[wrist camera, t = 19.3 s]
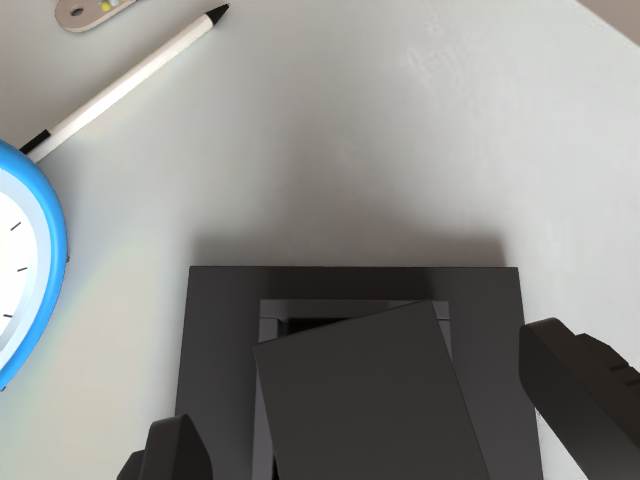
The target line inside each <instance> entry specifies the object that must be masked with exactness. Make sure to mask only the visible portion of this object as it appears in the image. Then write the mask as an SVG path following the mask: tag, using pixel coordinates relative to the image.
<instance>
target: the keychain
mask: <svg viewBox="0 0 640 480" xmlns="http://www.w3.org/2000/svg"><path fill="white" fill-rule="evenodd" d="M135 1H137V0H60V1H59V3H58V4H57V6H56V9H55V17H56V19H57V22H58V23H59V24H60V25H61V26H62V27H63V28H64V29H65V30H68V31H70V32H83V31H87V30H89V29H91V28H93V27H95V26H97V25H98V24H100V23H101V22H103V21H105V20H106V19H108V18H109V17H111V16H113V15H114V14H116V13H118V12H119V11H121V10H122V9H124V8H126V7H127V6H129V5H130V4H132V3H134V2H135ZM80 8H81V9H84V10H83V12H82V14H80V15H79V16H72V13H73V12H74V11H75V10H76V9H80Z"/></svg>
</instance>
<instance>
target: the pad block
mask: <svg viewBox="0 0 640 480" xmlns="http://www.w3.org/2000/svg"><path fill="white" fill-rule="evenodd" d="M253 351H254V356H255V361H256V366H257V371H258V376H259V381H260V386H261V390H262V395H263V400H264V405H265V410H266V415H267V420H268V425H269V430H270V435H271V440H272V445H273V449H274V454H275V459H276V464H277V469H278V474H279V479H280V480H491V479H490V476H489V473H488V470H487V467H486V464H485V460H484V457H483V454H482V451H481V448H480V445H479V442H478V439H477V436H476V433H475V430H474V427H473V424H472V421H471V418H470V415H469V412H468V409H467V406H466V403H465V400H464V397H463V394H462V391H461V388H460V385H459V382H458V379H457V376H456V373H455V370H454V367H453V364H452V361H451V358H450V355H449V352H448V349H447V346H446V343H445V340H444V337H443V334H442V331H441V327H440V324H439V321H438V318H437V315H436V312H435V309H434V306H433V303H432V300H431V299H429V298H427V299H424V300H420V301H416V302H412V303H408V304H404V305H401V306H397V307H393V308H389V309H385V310H382V311H378V312H374V313H370V314H366V315H362V316H359V317H355V318H351V319H347V320H343V321H339V322H336V323H332V324H328V325H324V326H320V327H316V328H313V329H309V330H305V331H301V332H297V333H294V334H290V335H286V336H282V337H278V338H274V339H271V340H267V341H263V342H259V343H255V344H254V345H253Z"/></svg>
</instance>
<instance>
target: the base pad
mask: <svg viewBox="0 0 640 480" xmlns="http://www.w3.org/2000/svg"><path fill="white" fill-rule="evenodd" d="M427 298H429V299H431V300H432V303H433V306H434V309H435V312H436V315H437V318H438V321H439V324H440V327H441V331H442V334H443V337H444V340H445V343H446V346H447V349H448V352H449V355H450V358H451V361H452V364H453V367H454V370H455V373H456V376H457V379H458V382H459V385H460V388H461V391H462V394H463V397H464V400H465V403H466V406H467V409H468V412H469V415H470V418H471V421H472V424H473V427H474V430H475V433H476V436H477V439H478V442H479V445H480V448H481V451H482V454H483V457H484V460H485V464H486V467H487V470H488V473H489V476H490V479H491V480H543V472H542V464H541V455H540V447H539V439H538V430H537V422H536V414H535V406H534V405H533V403H532V402H531V401H530V399H529V398H528V396H527V395H526V393H525V391H524V389H523V387H522V384H521V381H520V377H519V330H520V327H521V326H522V325H525V322H524V314H523V305H522V297H521V289H520V280H519V272H518V268H517V267H324V266H190V268H189V278H188V288H187V298H186V308H185V318H184V328H183V338H182V348H181V358H180V368H179V378H178V388H177V398H176V408H175V416H178V415H182V414H188V415H189V416H190V418H191V420H192V422H193V424H194V426H195V428H196V430H197V432H198V434H199V436H200V438H201V440H202V442H203V444H204V446H205V448H206V450H207V452H208V454H209V456H210V460H211V464H212V471H213V480H280V479H279V474H278V469H277V464H276V459H275V454H274V449H273V445H272V440H271V435H270V430H269V425H268V420H267V415H266V410H265V405H264V400H263V395H262V390H261V386H260V381H259V376H258V371H257V366H256V361H255V356H254V351H253V345H254V344H255V343H259V342H263V341H267V340H271V339H274V338H278V337H282V336H286V335H290V334H294V333H297V332H301V331H305V330H309V329H313V328H316V327H320V326H324V325H328V324H332V323H336V322H339V321H343V320H347V319H351V318H355V317H359V316H362V315H366V314H370V313H374V312H378V311H382V310H385V309H389V308H393V307H397V306H401V305H404V304H408V303H412V302H416V301H420V300H424V299H427Z"/></svg>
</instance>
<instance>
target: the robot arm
mask: <svg viewBox="0 0 640 480" xmlns="http://www.w3.org/2000/svg"><path fill="white" fill-rule="evenodd" d="M519 377H520V381H521V384H522V387H523V389H524V391H525V393H526V395H527V396H528V398H529V399H530V401H531V402H532V403H533V405H534V406H535V407H536V409H537V410H538V411H539V413H540V414H541V415H542V417H543V418H544V420H545V421H546V422H547V424H548V425H549V426H550V428H551V429H552V430H553V432H554V433H555V434H556V436H557V437H558V438H559V440H560V441H561V443H562V444H563V445H564V447H565V448H566V449H567V451H568V452H569V453H570V455H571V456H572V457H573V459H574V460H575V462H576V463H577V464H578V466H579V467H580V468H581V470H582V471H583V472H584V474H585V475H586V476H587V478H588V479H589V480H640V373H639V372H638V371H637V370H635V369H634V368H633V367H630V366H629V364H628V362H627V361H626V360H625V359H623V358H622V357H621V356H620V355H619V354H618V353H617V352H616V351H615V350H614V349H612V348H611V347H610V346H609V345H607V344H605V343H603V342H601V341H599V340H597V339H595V338H593V337H591V336H589V335H587V334H585V333H583V334H579V335H576V336H575V335H574V334H573V333H572V332H571V331H570V330H569V329H568V328H567V327H566V326H565V325H564V324H563V323H562V322H561V321H560V320H558V319H557V318H553V317H552V318H548V319H545V320H541V321H537V322H533V323H530V324H526V325H522V326H521V327H520V330H519ZM117 480H213V471H212V464H211V460H210V456H209V454H208V452H207V450H206V448H205V446H204V444H203V442H202V440H201V438H200V436H199V434H198V432H197V430H196V428H195V426H194V424H193V422H192V420H191V418H190V416H189V415H188V414H182V415H178V416H175V417H171V418H167V419H163V420H159V421H156V422H153V423H152V425H151V427H150V430H149V434H148V438H147V442H146V447H145V450H141V451H137V452H134V453H132V454H131V456H130V457H129V459H128V461H127V462H126V464H125V465H124V467H123V469H122V470H121V472H120V473H119V475H118V476H117Z"/></svg>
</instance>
